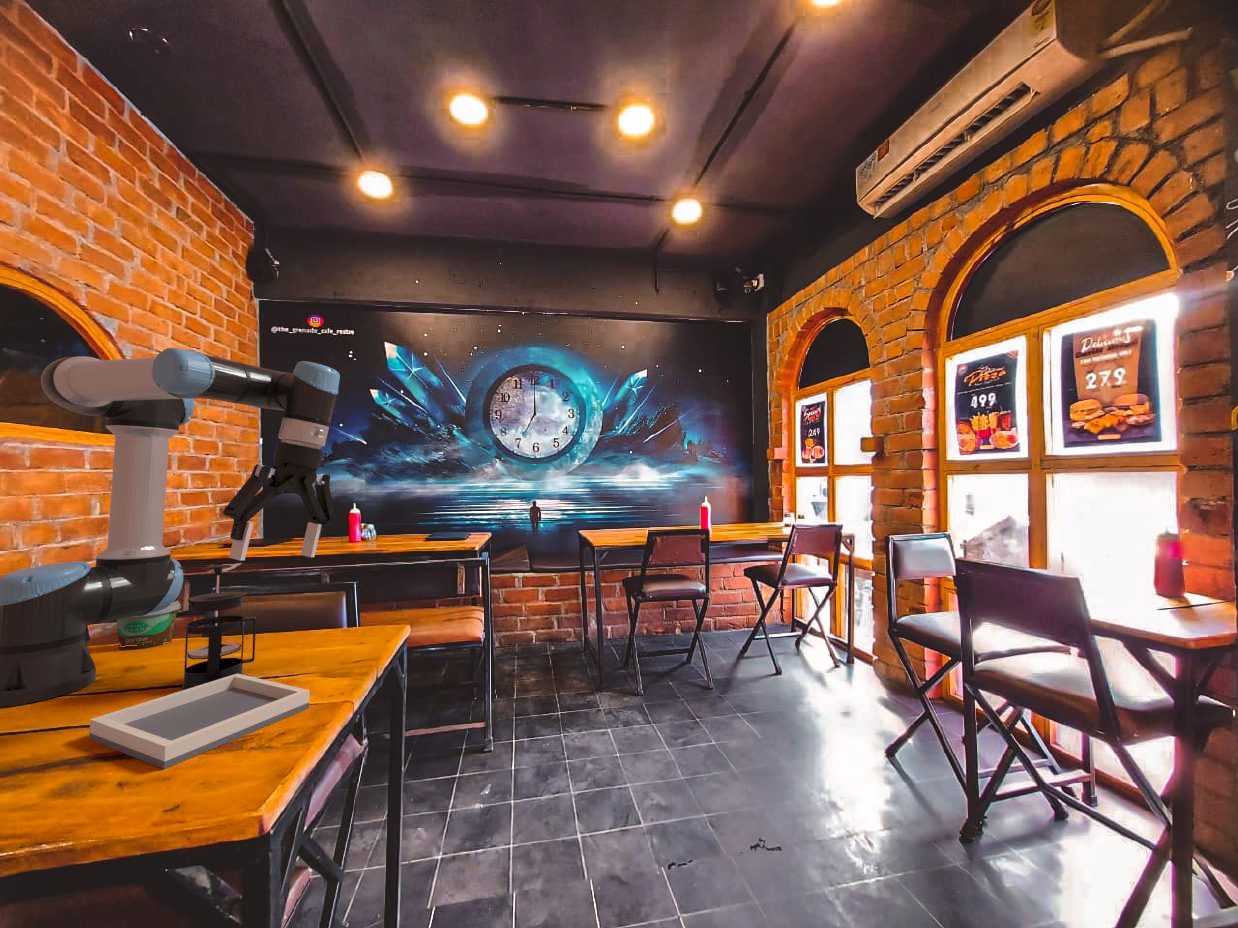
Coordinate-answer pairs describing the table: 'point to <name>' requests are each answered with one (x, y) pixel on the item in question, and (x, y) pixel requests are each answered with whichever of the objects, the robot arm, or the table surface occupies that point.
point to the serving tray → (197, 718)
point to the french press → (215, 637)
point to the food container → (147, 628)
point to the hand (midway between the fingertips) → (274, 557)
